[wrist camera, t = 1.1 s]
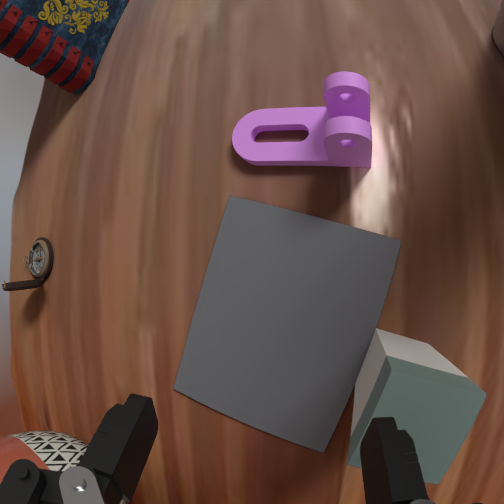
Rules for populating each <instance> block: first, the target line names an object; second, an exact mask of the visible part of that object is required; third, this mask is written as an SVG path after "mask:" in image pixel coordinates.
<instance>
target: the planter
mask: <svg viewBox="0 0 504 504" xmlns="http://www.w3.org/2000/svg"><path fill="white" fill-rule="evenodd" d="M88 445H89V444H87V443H86V442H84V441H82V440H80V439H78V438H76V437H74V436H71V435H69V434H65V433H61V432H55V431H31V432H24V433H19V434H14V435H9V436H3V437H0V484H1V482H2V480H3V478H4V476H5V474H6V472H7V471H8V469H9V467H10V465H11V464H12V463H13V462H15V461H16V460H19V459H28V460H31V461H32V462H34V463H35V464H36V465H37V467H38V468H39V469H46V470H53V471H65V470H66V469H68V468H70V467H74V466H76V465H77V464H78V463H79V462H80V460H81V458H82V456H83V455H84V453H85V451H86V449H87V447H88ZM120 504H128V502H127V501H124V500H121V502H120Z"/></svg>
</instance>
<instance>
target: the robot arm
mask: <svg viewBox="0 0 504 504" xmlns="http://www.w3.org/2000/svg"><path fill="white" fill-rule="evenodd" d="M492 35H493V39H494V42H495V44H496V46H497V47H498V49H499V50H500V52H501V53H502V54H503V55H504V0H502V2H501V6H500V9H499V12H498V15H497V18H496V21H495V24H494V27H493V31H492ZM157 432H158V420H157V416H156V412H155V409H154V405H153V401H152V398H150V397H146V396H141V395H137V394H130V395H129V397H128V399H127V400H126V402H125V404H124V405H121V404H116V405H115V406H113V407H112V408H111V409H110V410H108V411H107V413H106V414H105V416H104V418H103V420H102V422H101V424H100V425H99V427H98V429H97V432H95V434H94V436H93V438H92V440H91V442H90V443H89V445H88V447H87V449H86V451H85V453H84V455H83V456H82V458H81V460H80V462H79V463H78V464H77V465H76V466H74V467H70V468H68V469H66V470H65V471H53V470H46V469H39V468H38V467H37V465H36V464H35V463H34V462H32V461H31V460H28V459H19V460H16V461H15V462H13V463H12V464H11V465H10V467H9V469H8V471H7V472H6V474H5V476H4V478H3V480H2V482H1V484H0V504H120V502H121V500H124V501H127V502H131V500H132V497H133V495H134V492H135V490H136V487H137V484H138V482H139V479H140V477H141V474H142V471H143V469H144V466H145V464H146V461H147V458H148V456H149V453H150V451H151V448H152V446H153V443H154V441H155V438H156V435H157ZM360 458H361V466H362V474H363V482H364V490H365V499H366V504H435V503H434V502H432V501H430V499H429V498H428V496H427V492H426V488H425V484H424V479H423V475H422V471H421V467H420V464H419V462H418V456H417V453H416V449H415V445H414V441H413V439H412V438H411V436H410V435H409V434H408V433H407V431H406V430H405V429H404V430H398V429H397V425H396V421H395V419H394V417H376V418H373V419H372V420H371V422H370V424H369V426H368V428H367V431H366V433H365V435H364V437H363V439H362V441H361V445H360ZM473 504H482V503H473Z"/></svg>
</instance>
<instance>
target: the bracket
mask: <svg viewBox="0 0 504 504" xmlns="http://www.w3.org/2000/svg"><path fill="white" fill-rule="evenodd" d="M324 99H325V103H326V107H295V108H274V109H260V110H255V111H253V112H250V113H248V114H247V115H245V116H244V117H243V118H242V119H241V120H240V121H239V122H238V123H237V125H236V126H235V128H234V131H233V135H232V143H233V146H234V149H235V150H236V152H237V153H238V154H239V155H240V156H241V157H242V158H243V159H244V160H245V161H246V162H248V163H250V164H253V165H257V166H341V167H365V168H371V157H372V128H371V125H370V92H369V83H368V81H367V80H366V78H364V77H363V76H361V75H359V74H357V73H353V72H337V73H333V74H331V75H329V76H328V77H327V78H326V79H325V81H324ZM281 130H305V131H307V132H309V135H308V137H307V138H306V139H305V140H304V141H301V142H267V143H256V142H255V137H256V135H257V134H258V133H260V132H262V131H281Z"/></svg>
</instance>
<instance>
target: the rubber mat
mask: <svg viewBox="0 0 504 504" xmlns="http://www.w3.org/2000/svg"><path fill="white" fill-rule="evenodd" d="M400 245H401V241H400V240H397V239H393V238H390V237H386V236H383V235H380V234H376V233H373V232H369V231H366V230H362V229H359V228H355V227H352V226H348V225H344V224H341V223H337V222H333V221H330V220H326V219H322V218H319V217H315V216H311V215H307V214H303V213H299V212H296V211H292V210H288V209H284V208H280V207H276V206H272V205H268V204H264V203H259V202H255V201H251V200H247V199H243V198H239V197H234V196H229V200H228V203H227V206H226V209H225V212H224V215H223V218H222V222H221V225H220V228H219V231H218V235H217V238H216V241H215V244H214V248H213V251H212V254H211V257H210V261H209V264H208V267H207V271H206V274H205V278H204V281H203V284H202V288H201V291H200V295H199V298H198V301H197V305H196V308H195V312H194V315H193V319H192V323H191V326H190V330H189V333H188V337H187V340H186V344H185V348H184V351H183V355H182V359H181V362H180V366H179V370H178V374H177V377H176V381H175V385H174V389H175V390H177V391H179V392H181V393H183V394H184V395H186V396H188V397H190V398H192V399H194V400H196V401H198V402H200V403H202V404H204V405H206V406H208V407H210V408H212V409H215V410H217V411H219V412H221V413H223V414H225V415H227V416H230V417H232V418H234V419H236V420H239V421H241V422H243V423H245V424H248V425H250V426H252V427H255V428H257V429H260V430H262V431H265V432H267V433H270V434H272V435H275V436H277V437H280V438H282V439H285V440H288V441H290V442H293V443H296V444H299V445H302V446H304V447H307V448H310V449H313V450H316V451H319V452H322V453H323V452H324V450H325V449H326V447H327V445H328V442H329V440H330V438H331V436H332V434H333V432H334V430H335V428H336V426H337V424H338V422H339V419H340V417H341V415H342V413H343V411H344V408H345V406H346V404H347V401H348V399H349V397H350V394H351V392H352V390H353V387H354V385H355V382H356V380H357V378H358V375H359V373H360V370H361V367H362V365H363V362H364V360H365V357H366V354H367V352H368V349H369V346H370V344H371V341H372V338H373V335H374V332H375V329H376V326H377V324H378V321H379V318H380V315H381V311H382V308H383V305H384V302H385V299H386V296H387V292H388V289H389V286H390V282H391V279H392V275H393V272H394V268H395V264H396V261H397V257H398V253H399V249H400Z"/></svg>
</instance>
